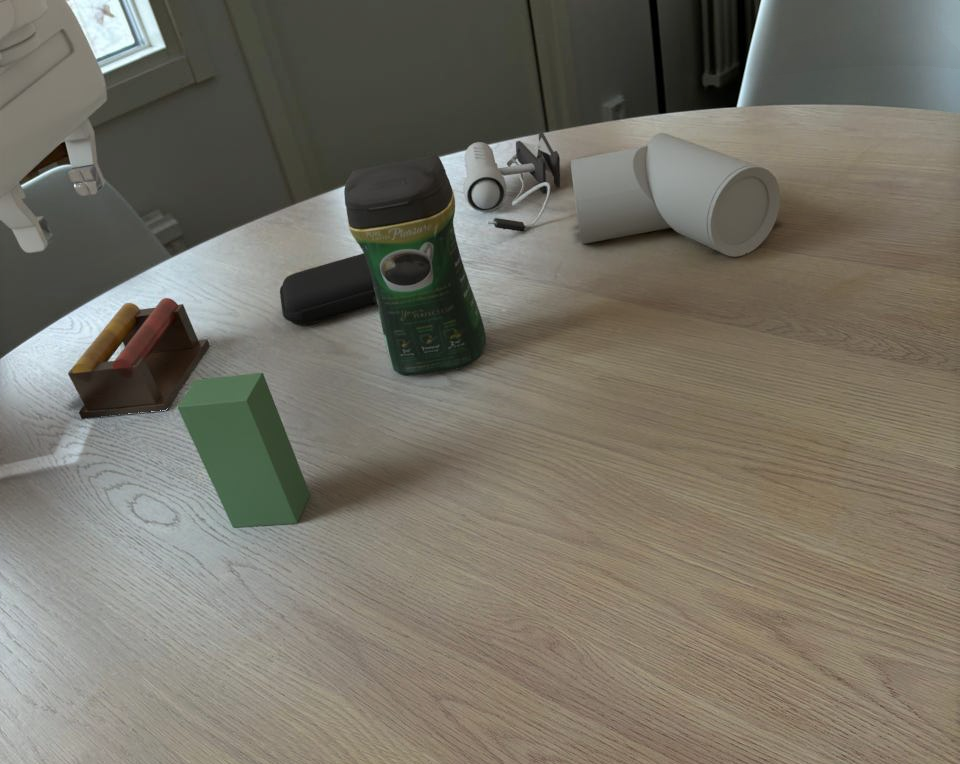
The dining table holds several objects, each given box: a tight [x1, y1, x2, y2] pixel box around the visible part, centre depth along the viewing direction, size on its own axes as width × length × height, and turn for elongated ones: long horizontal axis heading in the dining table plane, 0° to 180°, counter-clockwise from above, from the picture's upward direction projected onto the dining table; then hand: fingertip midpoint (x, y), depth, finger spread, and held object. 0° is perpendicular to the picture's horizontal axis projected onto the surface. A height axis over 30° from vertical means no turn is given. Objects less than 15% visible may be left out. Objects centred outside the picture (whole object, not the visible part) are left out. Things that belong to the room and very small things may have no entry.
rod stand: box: [67, 297, 211, 420], centre depth 110 cm, size 10×13×6 cm
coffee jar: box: [343, 154, 487, 377], centre depth 97 cm, size 10×8×19 cm
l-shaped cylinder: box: [570, 132, 781, 258], centre depth 108 cm, size 18×11×20 cm
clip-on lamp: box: [463, 131, 561, 232], centre depth 124 cm, size 12×6×18 cm
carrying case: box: [279, 253, 378, 326], centre depth 115 cm, size 11×3×15 cm
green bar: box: [176, 372, 311, 528], centre depth 86 cm, size 6×4×12 cm, turn 80°
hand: (67, 218), depth 75 cm, fingers open, 8 cm apart
